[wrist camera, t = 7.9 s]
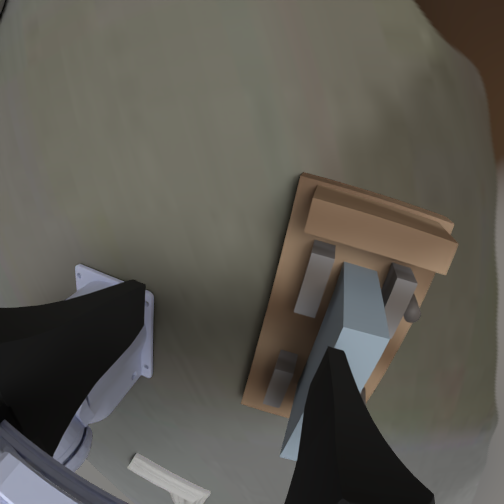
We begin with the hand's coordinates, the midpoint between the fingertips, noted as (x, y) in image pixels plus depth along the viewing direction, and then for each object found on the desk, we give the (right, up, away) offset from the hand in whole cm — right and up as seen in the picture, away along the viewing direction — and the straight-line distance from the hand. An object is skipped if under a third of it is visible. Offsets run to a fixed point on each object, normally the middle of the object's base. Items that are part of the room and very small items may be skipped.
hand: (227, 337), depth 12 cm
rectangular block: (+6, -2, +8) cm, 10 cm away
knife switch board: (+6, -2, +9) cm, 11 cm away
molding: (-8, -43, +31) cm, 54 cm away
